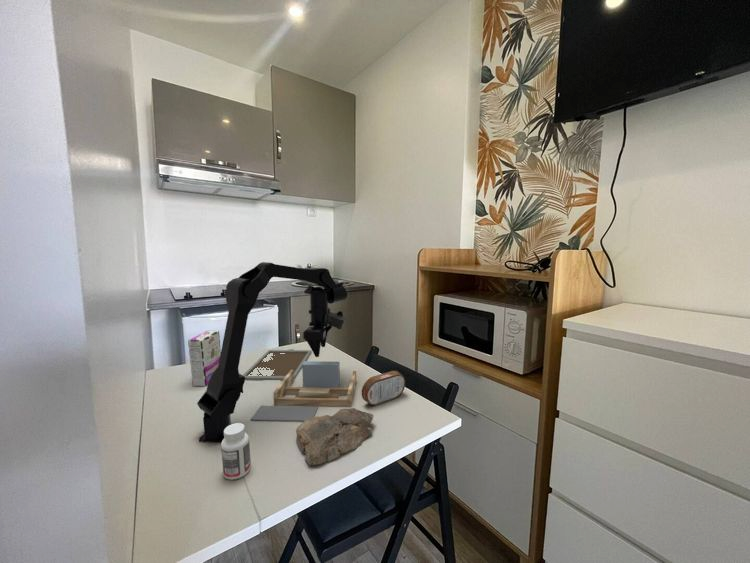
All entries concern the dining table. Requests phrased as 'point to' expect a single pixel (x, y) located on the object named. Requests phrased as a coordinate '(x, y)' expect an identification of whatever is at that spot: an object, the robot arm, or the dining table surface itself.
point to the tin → (383, 387)
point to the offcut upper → (314, 393)
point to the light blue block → (321, 374)
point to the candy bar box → (204, 356)
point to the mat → (284, 413)
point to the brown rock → (333, 434)
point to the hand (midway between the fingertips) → (320, 351)
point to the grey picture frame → (280, 364)
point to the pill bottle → (235, 452)
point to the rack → (286, 389)
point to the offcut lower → (328, 397)
